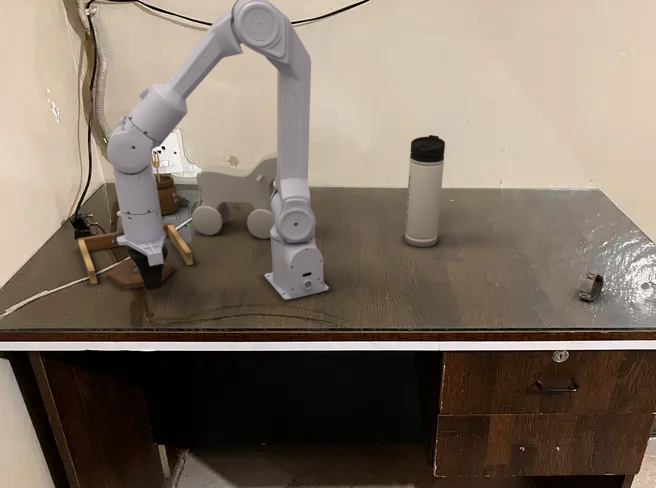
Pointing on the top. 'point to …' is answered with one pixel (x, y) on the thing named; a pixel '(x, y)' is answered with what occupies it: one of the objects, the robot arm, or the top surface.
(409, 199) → the travel mug
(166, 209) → the utensil holder
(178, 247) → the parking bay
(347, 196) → the top surface
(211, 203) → the pony
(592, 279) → the wristwatch
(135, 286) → the robot figurine
